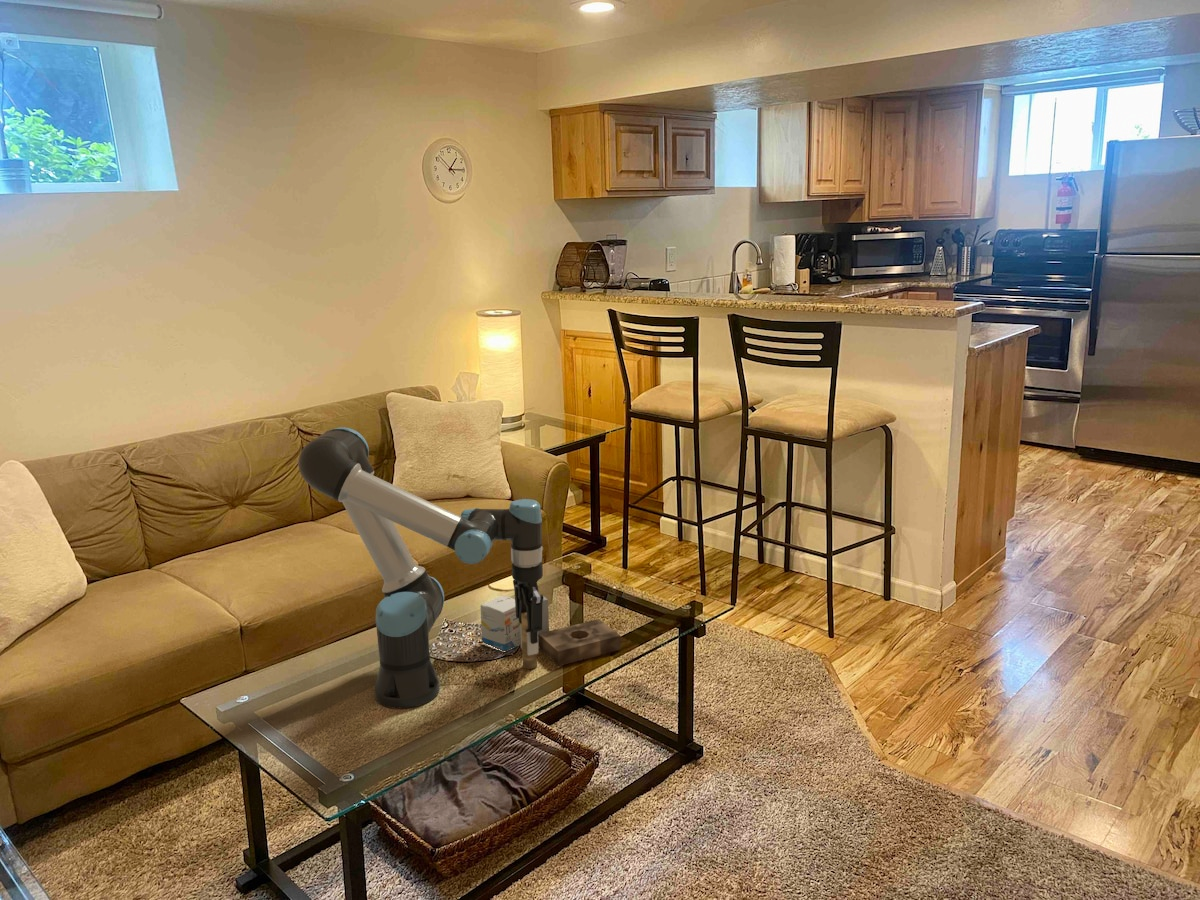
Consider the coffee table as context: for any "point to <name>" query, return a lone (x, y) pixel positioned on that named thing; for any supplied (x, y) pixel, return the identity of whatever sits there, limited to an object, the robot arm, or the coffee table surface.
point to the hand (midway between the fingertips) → (529, 650)
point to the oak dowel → (529, 660)
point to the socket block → (579, 642)
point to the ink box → (500, 623)
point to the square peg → (544, 617)
